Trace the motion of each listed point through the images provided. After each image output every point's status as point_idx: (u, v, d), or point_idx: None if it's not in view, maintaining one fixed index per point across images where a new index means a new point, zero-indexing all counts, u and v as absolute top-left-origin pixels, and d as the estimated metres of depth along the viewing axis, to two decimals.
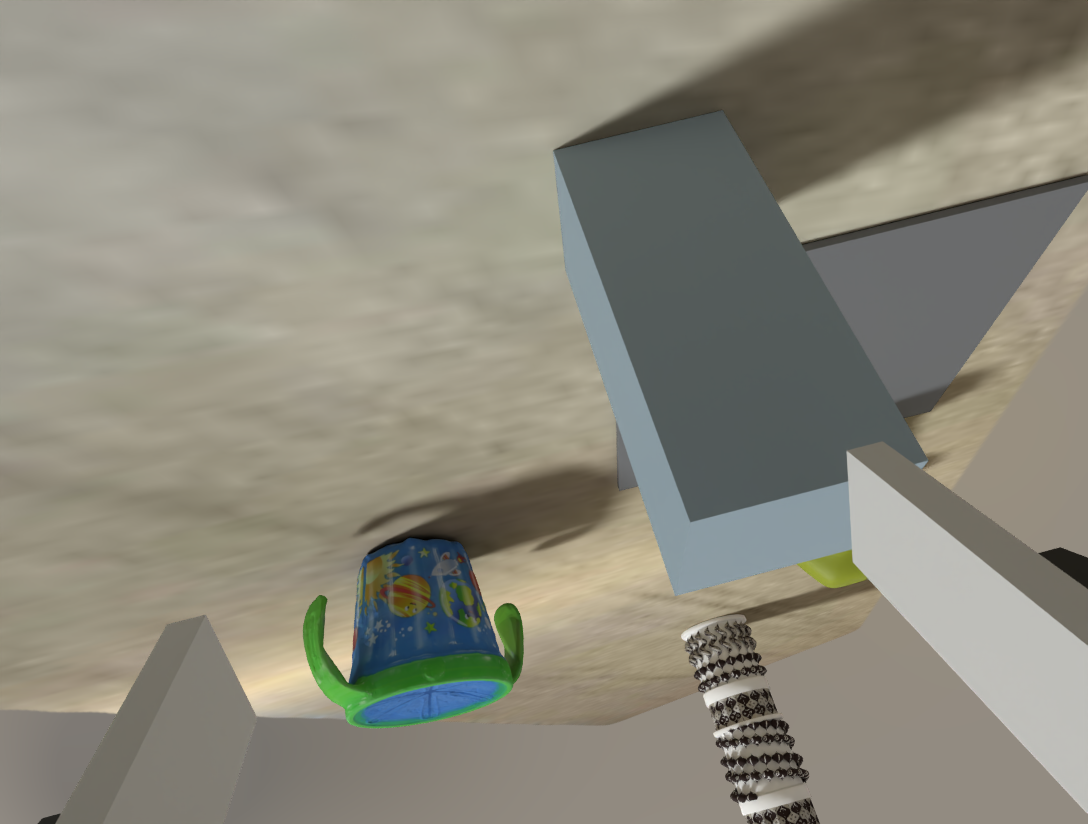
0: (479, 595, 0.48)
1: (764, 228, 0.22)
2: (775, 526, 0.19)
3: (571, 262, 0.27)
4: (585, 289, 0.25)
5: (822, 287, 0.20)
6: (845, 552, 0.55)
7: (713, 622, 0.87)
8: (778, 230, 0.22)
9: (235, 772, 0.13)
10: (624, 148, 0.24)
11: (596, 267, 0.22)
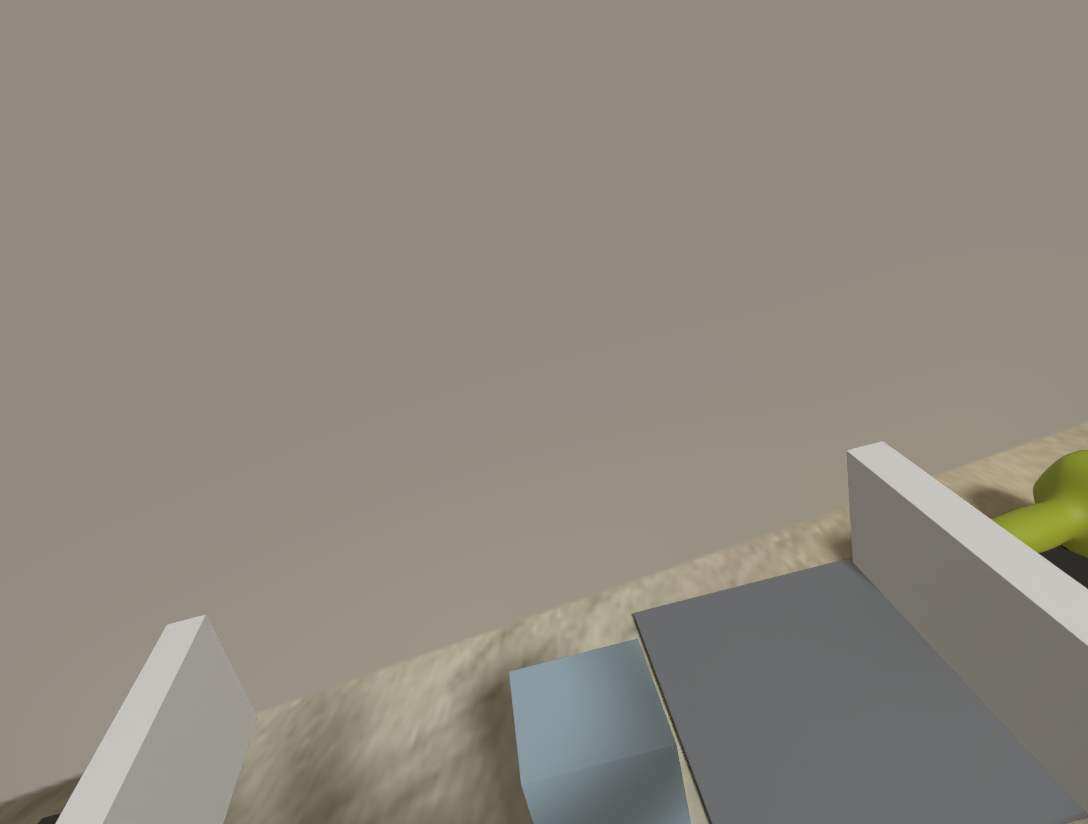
0: None
1: None
2: (562, 720, 0.29)
3: None
4: None
5: None
6: (1074, 496, 0.48)
7: None
8: None
9: (235, 772, 0.13)
10: None
11: None
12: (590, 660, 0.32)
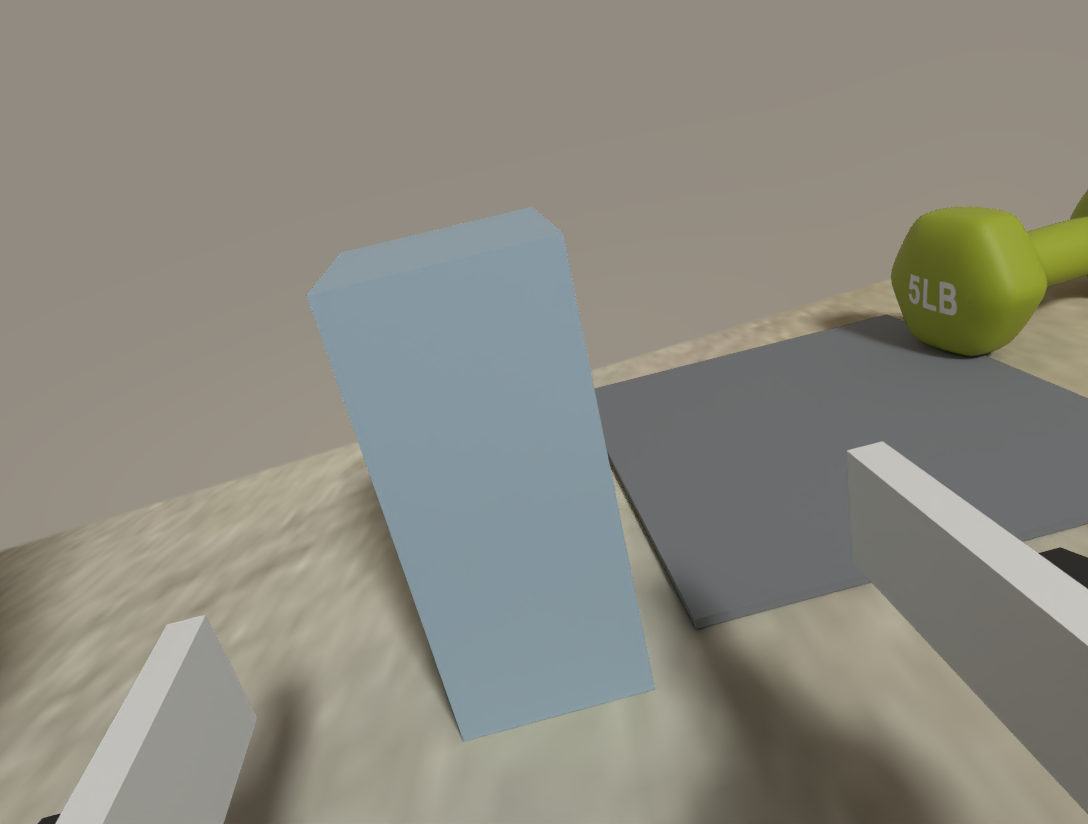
0: None
1: None
2: (396, 256, 0.19)
3: (583, 669, 0.21)
4: (534, 618, 0.20)
5: None
6: None
7: None
8: None
9: (235, 772, 0.13)
10: None
11: (414, 595, 0.20)
12: (459, 226, 0.21)
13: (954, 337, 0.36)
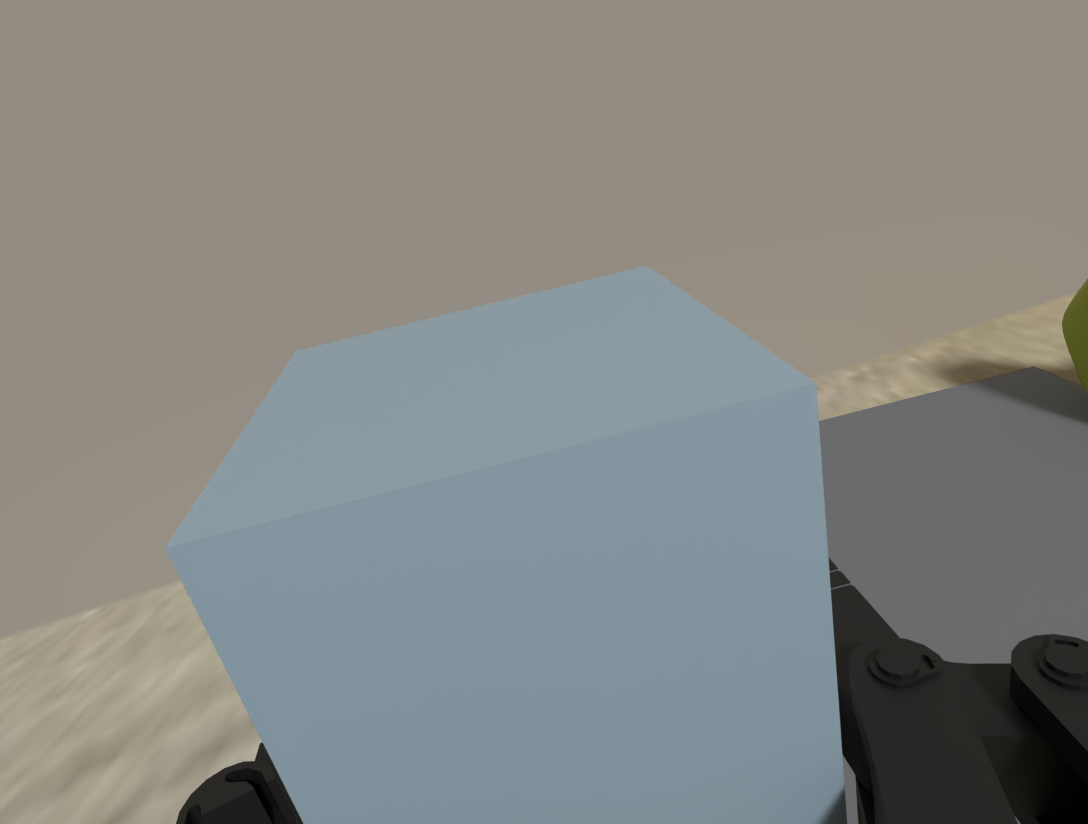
0: None
1: None
2: (398, 395, 0.09)
3: None
4: None
5: None
6: None
7: None
8: None
9: None
10: None
11: None
12: (516, 306, 0.11)
13: None
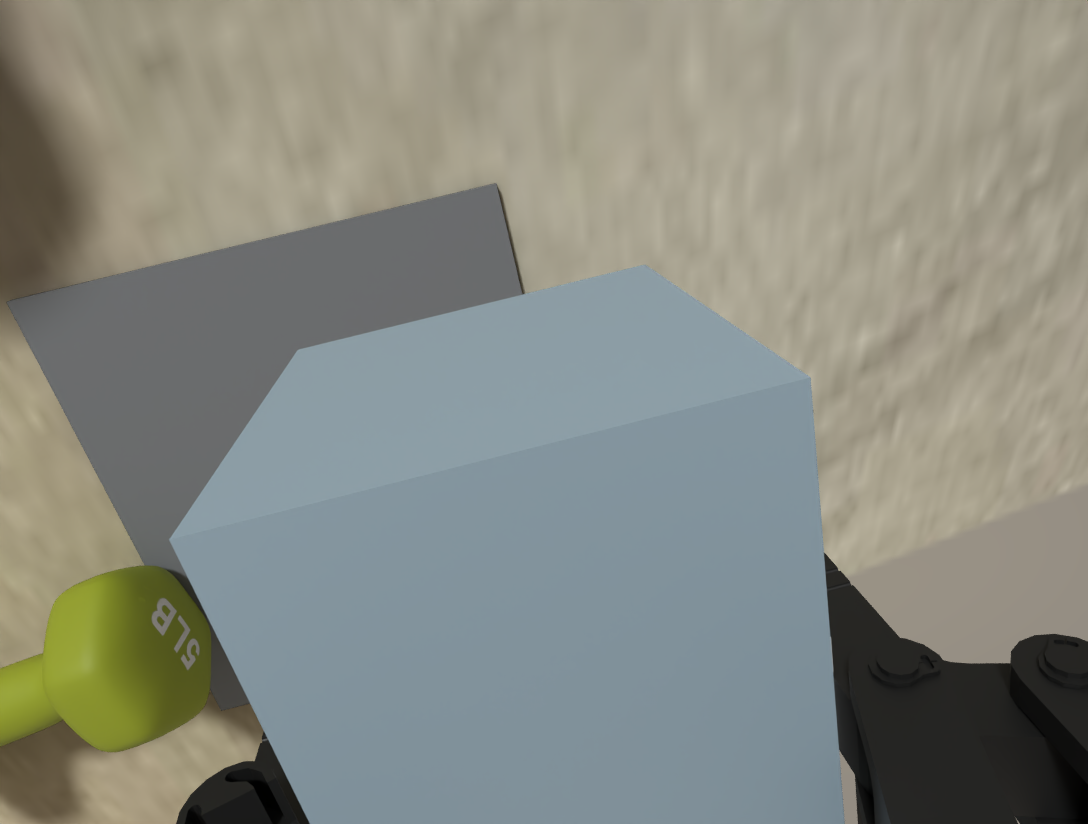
0: None
1: None
2: (399, 392, 0.09)
3: None
4: None
5: None
6: None
7: None
8: None
9: None
10: None
11: None
12: (516, 304, 0.12)
13: (173, 583, 0.32)
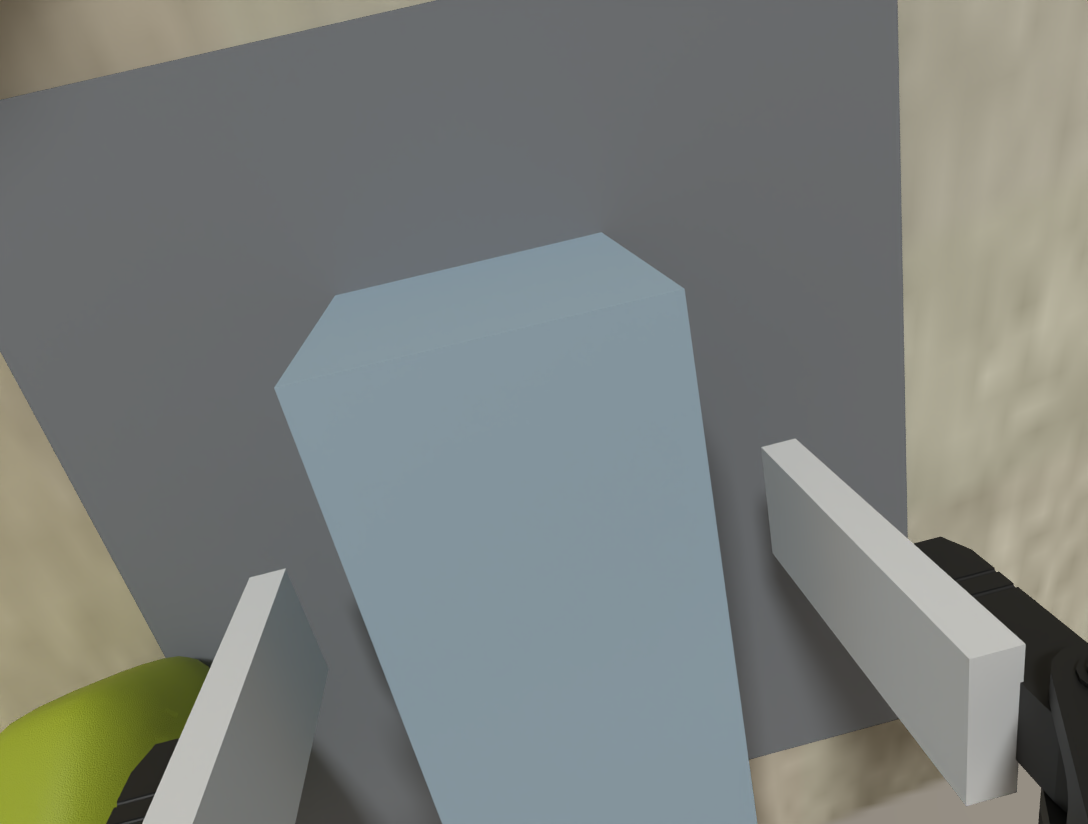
0: None
1: None
2: (416, 313, 0.12)
3: None
4: None
5: None
6: None
7: None
8: None
9: (315, 714, 0.14)
10: None
11: (437, 803, 0.13)
12: (502, 260, 0.15)
13: None
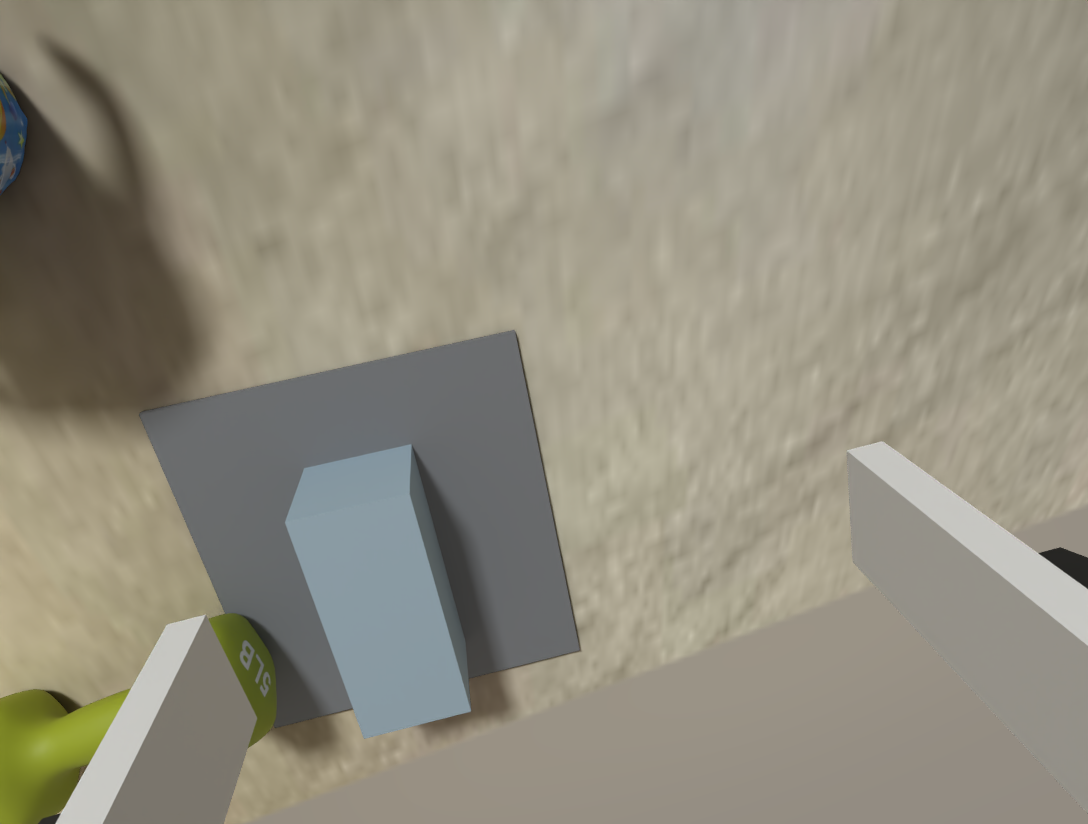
0: None
1: None
2: (332, 489, 0.37)
3: (429, 700, 0.39)
4: (402, 673, 0.38)
5: None
6: (32, 770, 0.38)
7: None
8: None
9: (235, 772, 0.13)
10: None
11: (336, 660, 0.37)
12: (369, 457, 0.39)
13: (249, 627, 0.41)
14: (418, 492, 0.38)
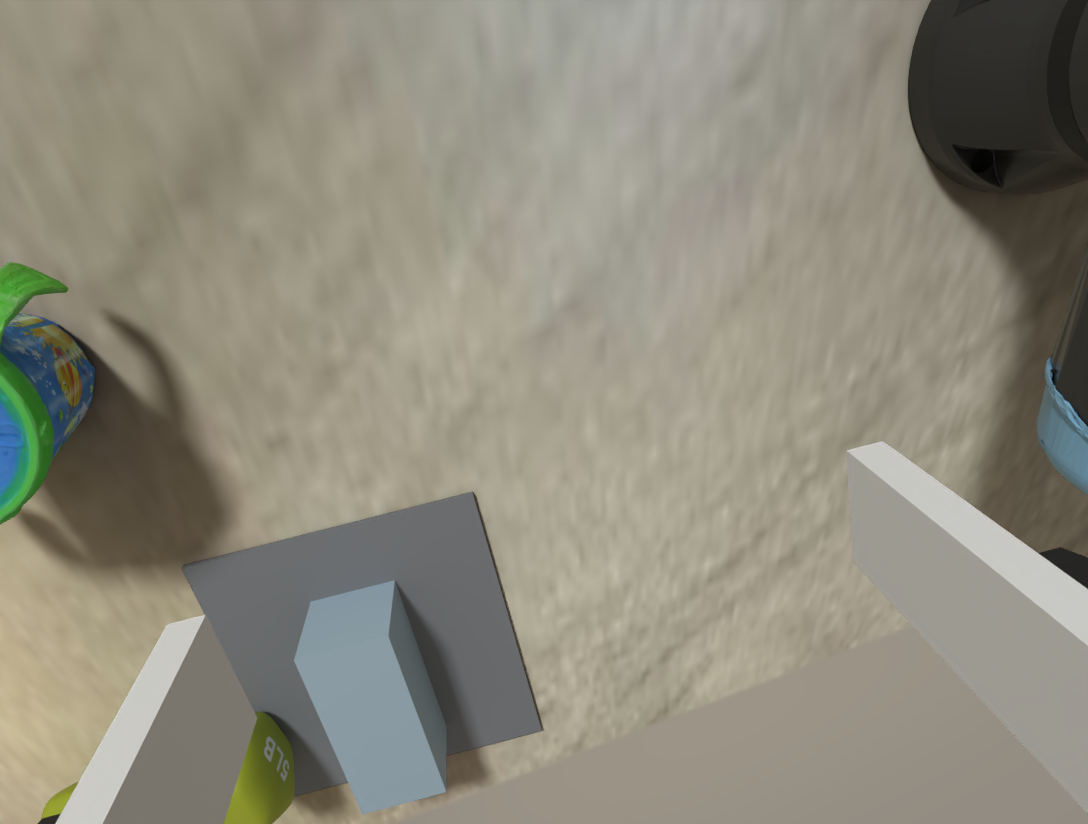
0: None
1: None
2: (330, 626, 0.47)
3: (412, 784, 0.50)
4: (389, 765, 0.49)
5: None
6: None
7: None
8: None
9: (235, 772, 0.13)
10: None
11: (338, 757, 0.48)
12: (361, 593, 0.50)
13: (272, 724, 0.52)
14: (399, 623, 0.49)
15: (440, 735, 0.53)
